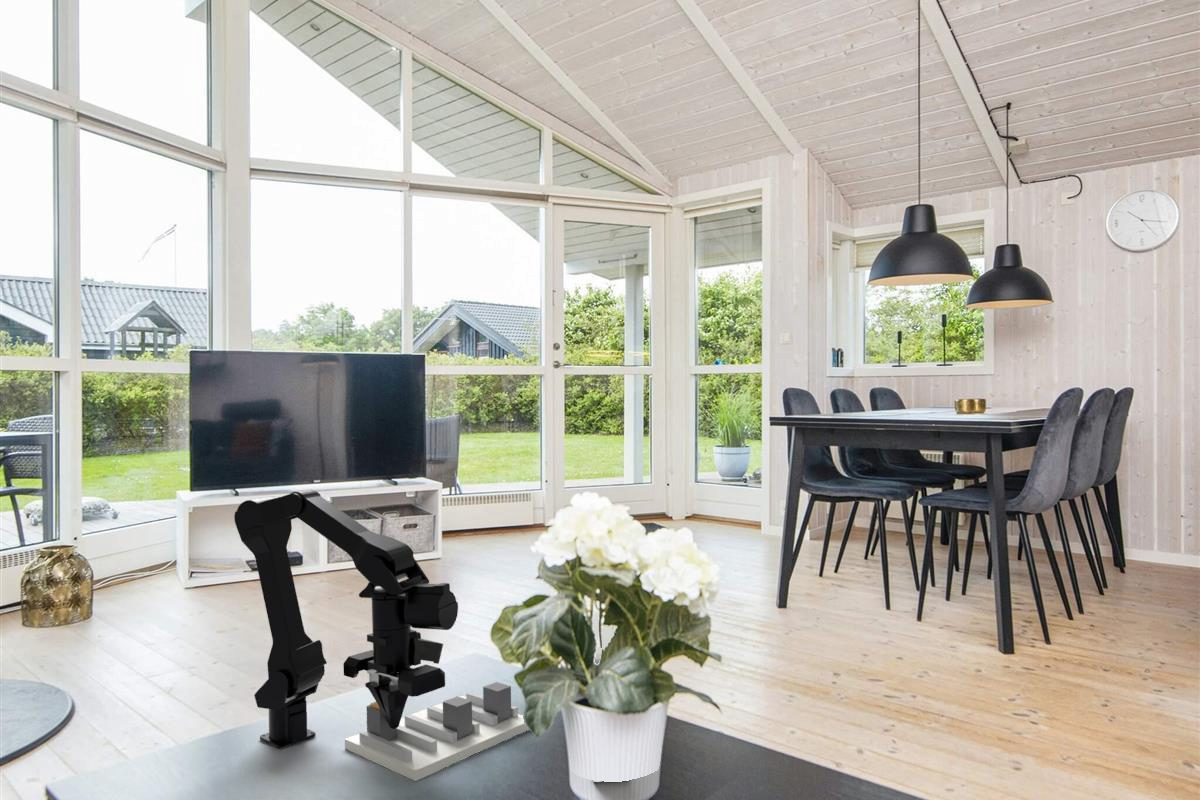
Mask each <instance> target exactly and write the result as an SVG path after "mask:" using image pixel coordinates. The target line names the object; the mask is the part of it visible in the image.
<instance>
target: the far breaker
mask: <svg viewBox="0 0 1200 800" xmlns="http://www.w3.org/2000/svg"><path fill="white" fill-rule="evenodd" d="M482 689H483V692H482V694H483V695H482V696H483V707H484V711H486V712H489V713H492V714H494V715H497V716H498V722H499V721H502V720H504V719H506V718H509V717H511V705H512V686H511V685H507V684H505V683H501V682H498V681H495V682H492V683H491V684H487V685H485V686H483V687H482Z"/></svg>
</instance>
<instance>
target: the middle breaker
mask: <svg viewBox="0 0 1200 800" xmlns="http://www.w3.org/2000/svg"><path fill="white" fill-rule="evenodd" d="M442 703H443V727H445V728H447V729H450V730H453V731H455V732H457V739H459V738H461V737H463V736H466V735H468V734H471V733H472V701H470V700H467V699H464V698H461V697H460V696H455V697H453V698H452V697H451V698H449V699H446V700H444V701H442Z"/></svg>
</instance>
